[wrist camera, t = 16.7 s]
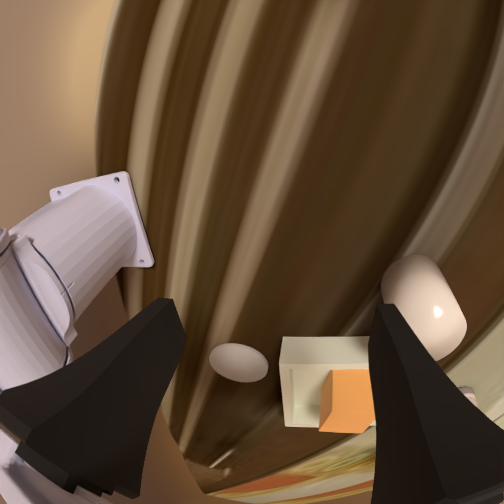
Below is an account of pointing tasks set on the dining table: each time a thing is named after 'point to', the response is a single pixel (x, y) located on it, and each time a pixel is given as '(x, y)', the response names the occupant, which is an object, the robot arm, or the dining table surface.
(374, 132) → the dining table surface
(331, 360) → the tray
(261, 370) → the grey flat disc
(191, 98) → the dining table surface
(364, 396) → the block
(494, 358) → the dining table surface
